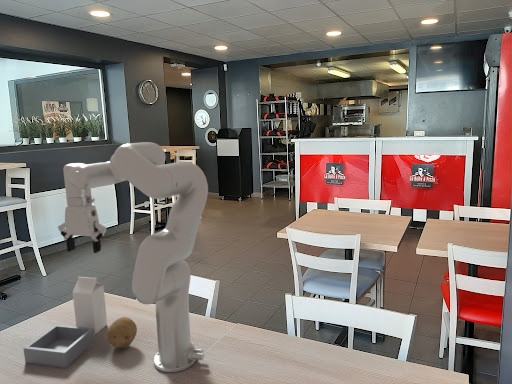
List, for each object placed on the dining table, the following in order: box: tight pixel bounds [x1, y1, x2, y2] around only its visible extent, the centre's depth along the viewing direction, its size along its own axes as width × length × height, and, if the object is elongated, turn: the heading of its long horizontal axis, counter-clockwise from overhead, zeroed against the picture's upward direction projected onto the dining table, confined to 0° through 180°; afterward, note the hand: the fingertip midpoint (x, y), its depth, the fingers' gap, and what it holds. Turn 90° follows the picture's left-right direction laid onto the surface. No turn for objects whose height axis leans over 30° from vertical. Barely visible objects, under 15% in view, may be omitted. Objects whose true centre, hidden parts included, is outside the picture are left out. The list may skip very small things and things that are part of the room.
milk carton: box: [72, 276, 108, 336], centre depth 136 cm, size 7×7×19 cm
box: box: [23, 324, 96, 369], centre depth 124 cm, size 14×14×5 cm
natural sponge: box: [106, 316, 138, 349], centre depth 125 cm, size 9×9×10 cm
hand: (84, 251), depth 133 cm, fingers open, 9 cm apart
